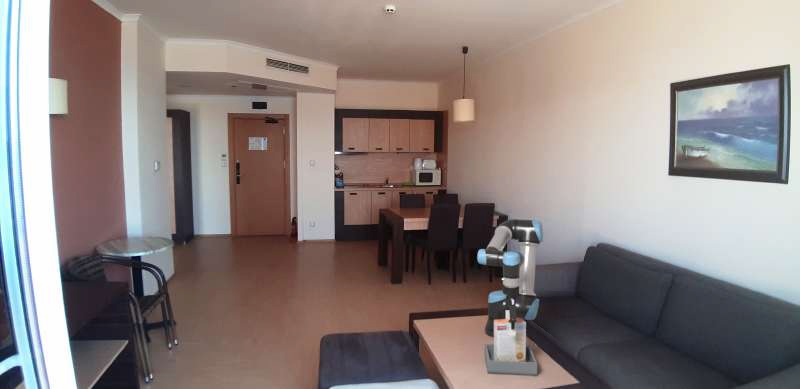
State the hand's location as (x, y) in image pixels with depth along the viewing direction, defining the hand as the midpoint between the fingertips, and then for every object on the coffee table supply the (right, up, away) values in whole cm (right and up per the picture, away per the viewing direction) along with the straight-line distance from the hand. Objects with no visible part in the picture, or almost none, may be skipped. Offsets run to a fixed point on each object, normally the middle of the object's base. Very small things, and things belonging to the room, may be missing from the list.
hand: (510, 329), depth 209 cm
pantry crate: (0, -18, +1) cm, 18 cm away
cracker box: (0, -17, +2) cm, 17 cm away
